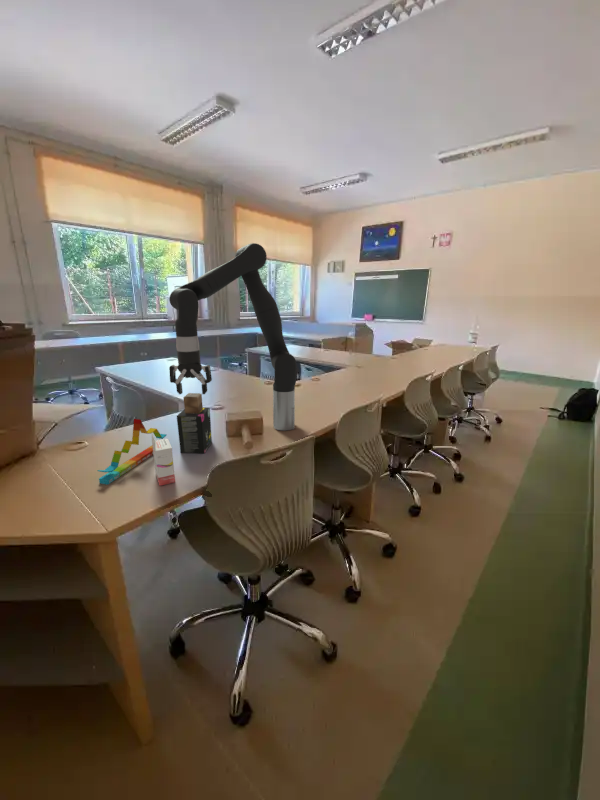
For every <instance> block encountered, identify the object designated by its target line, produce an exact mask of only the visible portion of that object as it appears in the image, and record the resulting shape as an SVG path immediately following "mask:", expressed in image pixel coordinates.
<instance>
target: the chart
mask: <svg viewBox="0 0 600 800" xmlns="http://www.w3.org/2000/svg"><path fill="white" fill-rule="evenodd" d="M132 428H133V429H132V436H131V437H132V439H131V440H125V441H124V444H123V446H122V449H121V450H114V452H113V454H112V458H111V459H112V460H111V462H110V465H109V466H107V467H106V468H105V469H98V470H97V472H101V473H105V474H104V475H102V476H101V477H99V478H98V481H99V484H102V485H110V484H111V483H112V482H114V481H116V480H117V479H119V478H120V477H121V476H123V475H124V474H126V473H128V472H129V471H131V470H132V469H134V468H135V467H136V466H138V465H140V464H141V463H142V462H144V461H147V459H148V458H150V457H152V456H154V455H153V447H152V445H150V446H148V447H147V448H145V449H144V450H142V451H141V452H139V453H137V454H136V455H134V456H133V457H131V458H130V459H128V460H126V461H125V462H123V463H122V464H120V465H119V463H120V460H121V457H122V453H125V454H129V452H130V449H131V447H132V445H133V446H134V445H136V446H139V445H140V444H139V443H140V433H141V434H147V435H148V434H152V433H153V435H154V437H155V438H156V439H158V440H161V439H165V437H166V436H167V434H165V433H160V432H159V430H158V428H154V427H153V428H152V427H150V428H149V429H146V428H145V425H144V423H143V422H142V420H141V419H140V418H133V426H132Z"/></svg>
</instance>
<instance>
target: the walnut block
mask: <svg viewBox="0 0 600 800" xmlns="http://www.w3.org/2000/svg"><path fill="white" fill-rule="evenodd" d="M202 395H203V394H202V393H201V392H199V393H198V392H195V393H194V392H188V393H187V394H186V395H184V396H183V407H184V409H185V413H200V412H201V410H202V409H203V397H202Z"/></svg>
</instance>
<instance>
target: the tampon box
mask: <svg viewBox="0 0 600 800" xmlns="http://www.w3.org/2000/svg"><path fill="white" fill-rule="evenodd" d="M176 422H177V423H176V425H177V431H178V432H177V433H178V441H179V452H180V453H181V454H182V453H183V454H184V453H185V454H206V452H207V450H208V449H209V447H210V446H211V445H212V443H213V437H212V423H211V407H203V409H202V410H201V412H200V413H185V408H184V409H183V410H182V411H181V412H179V413H178V414H177V415H176Z"/></svg>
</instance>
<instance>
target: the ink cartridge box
mask: <svg viewBox="0 0 600 800" xmlns="http://www.w3.org/2000/svg"><path fill="white" fill-rule="evenodd" d="M151 446H152V447H153V455H152V456H153V463H154V470H155V471H154V473H155V476H156V479H157V481H158V484H159V487H161V486H164V485H169V484H175V483H176V476H175V475H176V474H175V466H174V456H173V447H172V445H171V442H170V440H169V438H163V439H157V440H156V439H155V435H154V433H151Z"/></svg>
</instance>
